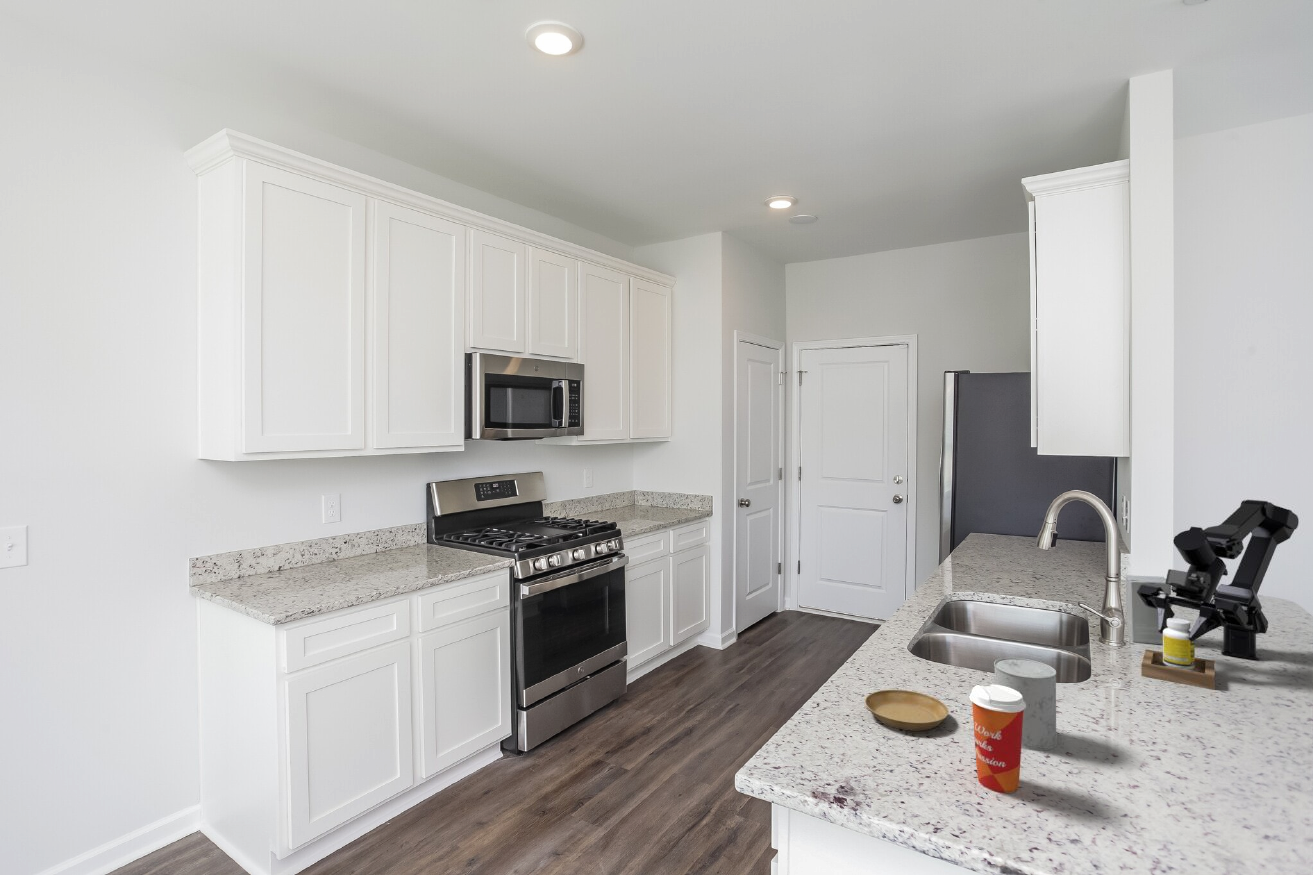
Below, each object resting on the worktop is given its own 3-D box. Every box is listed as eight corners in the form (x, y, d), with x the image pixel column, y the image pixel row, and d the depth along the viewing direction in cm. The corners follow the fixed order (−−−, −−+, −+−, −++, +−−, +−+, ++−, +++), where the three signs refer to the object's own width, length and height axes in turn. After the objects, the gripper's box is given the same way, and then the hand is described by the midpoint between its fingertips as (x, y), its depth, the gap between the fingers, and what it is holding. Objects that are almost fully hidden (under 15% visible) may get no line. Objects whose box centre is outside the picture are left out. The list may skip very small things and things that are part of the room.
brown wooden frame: (1145, 659, 150) (1145, 649, 150) (1214, 672, 143) (1214, 660, 143) (1141, 675, 141) (1141, 664, 141) (1214, 689, 133) (1214, 677, 133)
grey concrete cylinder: (1049, 728, 118) (1049, 660, 118) (1063, 753, 109) (1062, 680, 109) (990, 721, 121) (990, 655, 121) (999, 745, 112) (998, 674, 112)
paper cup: (960, 771, 104) (959, 683, 104) (1006, 768, 105) (1005, 681, 105) (989, 799, 96) (988, 704, 96) (1038, 795, 97) (1038, 701, 97)
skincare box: (1165, 638, 165) (1165, 575, 164) (1173, 647, 158) (1173, 582, 158) (1124, 634, 168) (1124, 573, 168) (1131, 643, 162) (1130, 579, 161)
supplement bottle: (1196, 671, 138) (1195, 625, 138) (1164, 667, 141) (1163, 622, 141) (1193, 663, 143) (1192, 618, 142) (1161, 659, 146) (1161, 615, 145)
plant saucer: (849, 717, 125) (849, 703, 124) (890, 695, 134) (890, 682, 134) (923, 745, 113) (923, 730, 113) (963, 719, 123) (963, 705, 123)
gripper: (1140, 548, 151) (1112, 603, 147) (1240, 563, 135) (1212, 625, 130) (1160, 578, 155) (1133, 632, 151) (1260, 596, 138) (1233, 657, 134)
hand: (1174, 636), depth 141 cm, fingers closed on supplement bottle, 5 cm apart
